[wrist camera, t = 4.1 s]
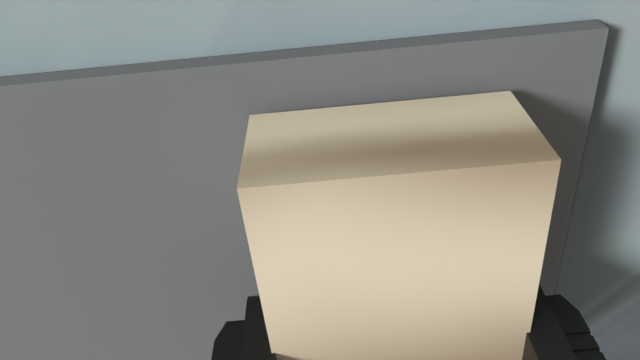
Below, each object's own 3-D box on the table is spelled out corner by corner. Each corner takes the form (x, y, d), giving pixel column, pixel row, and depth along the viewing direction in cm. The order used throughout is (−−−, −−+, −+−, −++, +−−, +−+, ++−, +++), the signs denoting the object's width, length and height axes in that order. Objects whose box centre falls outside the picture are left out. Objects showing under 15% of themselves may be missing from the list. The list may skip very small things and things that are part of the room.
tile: (248, 114, 11) (235, 189, 9) (511, 90, 11) (563, 160, 8) (303, 418, 16) (303, 509, 14) (476, 405, 16) (501, 494, 14)
